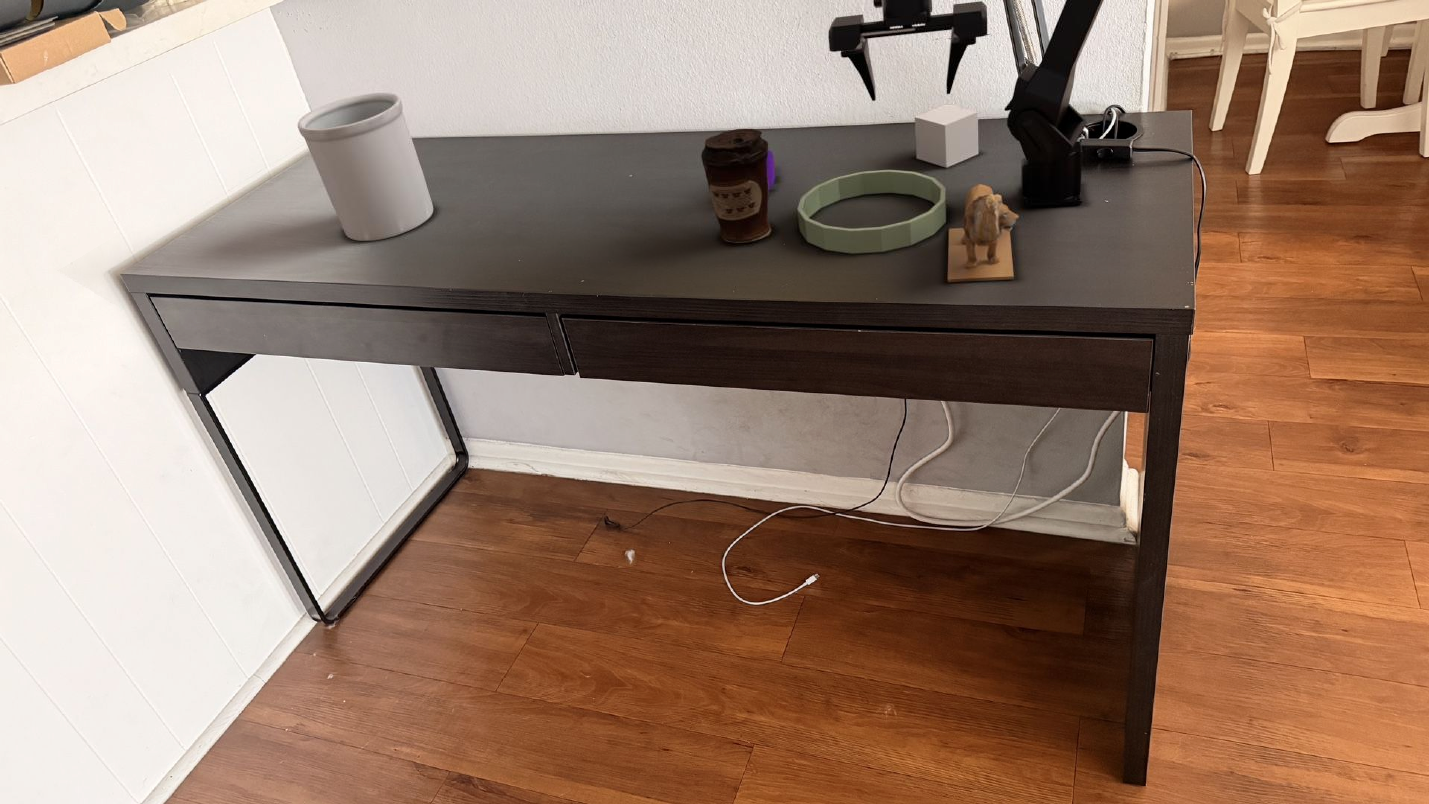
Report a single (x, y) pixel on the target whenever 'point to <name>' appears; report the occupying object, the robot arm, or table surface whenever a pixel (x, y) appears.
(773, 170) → the crystal
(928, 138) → the white cube
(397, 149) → the utensil holder
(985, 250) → the cork mat
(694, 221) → the table surface
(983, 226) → the lion figurine
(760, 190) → the coffee cup
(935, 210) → the pale green faceted ring
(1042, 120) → the robot arm
